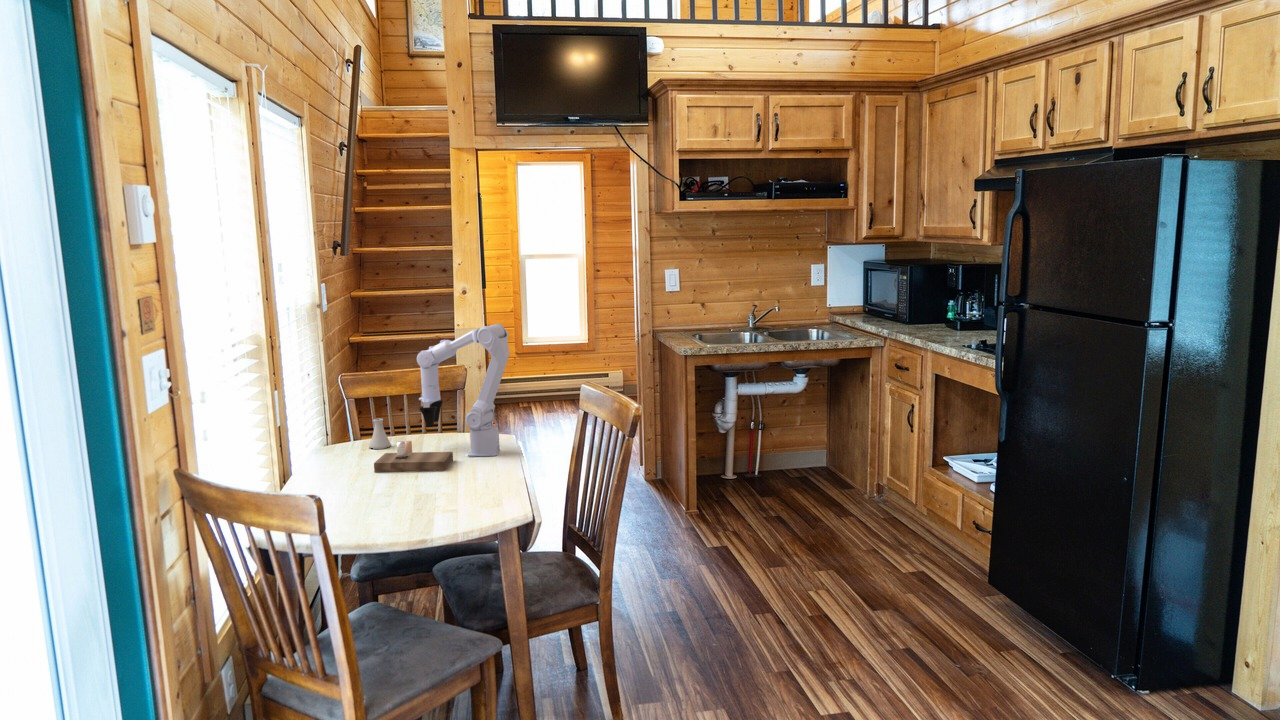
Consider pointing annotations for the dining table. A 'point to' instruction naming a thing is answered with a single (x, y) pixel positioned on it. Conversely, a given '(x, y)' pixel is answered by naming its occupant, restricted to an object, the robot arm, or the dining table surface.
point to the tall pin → (401, 450)
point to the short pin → (408, 446)
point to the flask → (379, 436)
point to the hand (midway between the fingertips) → (432, 424)
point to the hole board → (414, 462)
